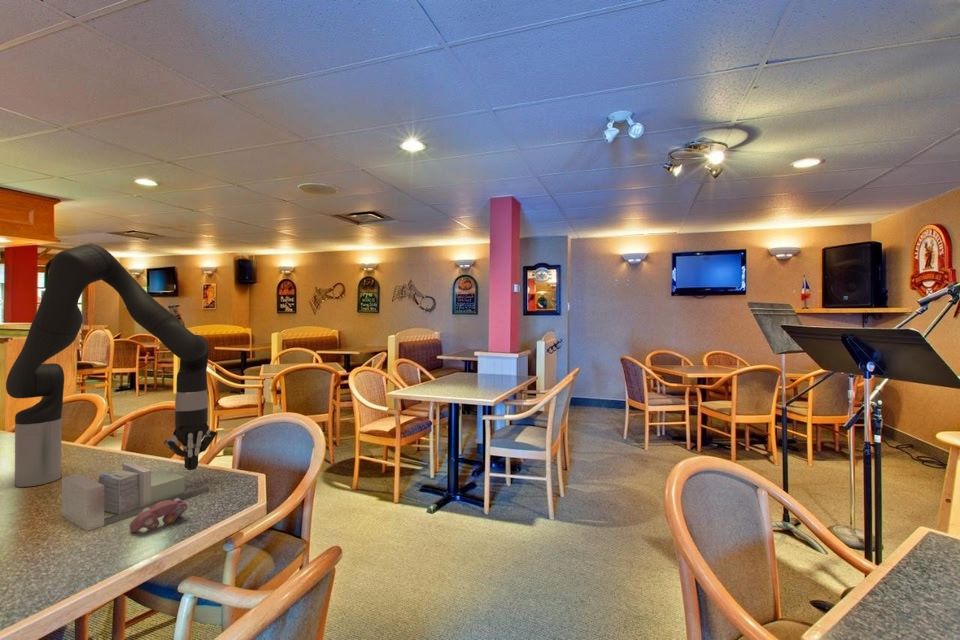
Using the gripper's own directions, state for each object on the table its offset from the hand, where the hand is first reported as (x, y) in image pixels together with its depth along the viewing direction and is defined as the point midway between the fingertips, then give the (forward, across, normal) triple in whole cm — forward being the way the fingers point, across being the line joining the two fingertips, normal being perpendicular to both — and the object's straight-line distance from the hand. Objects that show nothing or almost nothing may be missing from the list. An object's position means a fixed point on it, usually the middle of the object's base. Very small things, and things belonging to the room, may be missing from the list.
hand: (191, 469), depth 119 cm
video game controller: (+5, +15, +18) cm, 24 cm away
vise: (+5, +12, 0) cm, 13 cm away
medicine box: (+5, +16, 0) cm, 17 cm away
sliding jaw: (+5, +9, 0) cm, 10 cm away
